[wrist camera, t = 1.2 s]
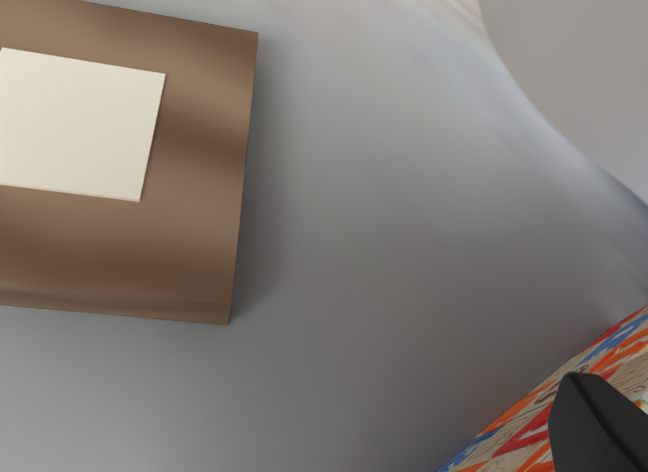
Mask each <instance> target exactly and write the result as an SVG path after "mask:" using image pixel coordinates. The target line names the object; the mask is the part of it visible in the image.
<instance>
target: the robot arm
mask: <svg viewBox="0 0 648 472" xmlns="http://www.w3.org/2000/svg"><path fill="white" fill-rule="evenodd" d="M548 435H549V441H550V446H551V452H552V458H553V464H554V469H555V472H648V414H647V413H645V412H644V411H643V410H642V409H640V408H639V407H638V406H637V405H635V404H634V403H633V402H632V401H630V400H629V399H628V398H627V397H626V396H624V395H623V394H622V393H621V392H619V391H618V390H617V389H616V388H614V387H613V386H612V385H611V384H609V383H608V382H607V381H606V380H604V379H603V378H602V377H600V376H599V375H597V374H594V373H585V372H576V371H569V372H567V373H565V374H564V376H563V377H562V379H561V381H560V384H559V387H558V390H557V393H556V395H555V398H554V401H553V404H552V407H551V409H550V412H549V416H548Z"/></svg>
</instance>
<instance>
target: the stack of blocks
mask: <svg viewBox="0 0 648 472" xmlns="http://www.w3.org/2000/svg"><path fill="white" fill-rule="evenodd" d="M569 371H576V372H585V373H594V374H597V375H599V376H600V377H602V378H603V379H604V380H606V381H607V382H608V383H609V384H611V385H612V386H613V387H614V388H616V389H617V390H618V391H619V392H621V393H622V394H623V395H624V396H626V397H627V398H628V399H629V400H630V401H632V402H633V403H634V404H635V405H637V406H638V407H639V408H640V409H642V410H643V411H644V412H645V413H647V414H648V305H647V306H645V307H644V308H642V309H640V310H638V311H636V312H635V313H633V314H631V315H630V316H628V317H627V318H625V319H623V320H622V321H620V322H619V323H617V324H616V325H614V326H612V327H611V328H610V329H609V330H607V331H606V332H605V333H604V334H603V335H602V336H601V337H599V338H598V339H597V340H596V341H595V342H594V343H592V344H591V345H590V346H589V347H588V348H587V349H585V350H584V351H583V352H582V353H580V354H578V355H577V356H575V357H573V358H572V359H570V360H569V361H568V362H566V363H565V364H564V365H563V366H561V367H560V368H559V369H558V370H556V371H555V372H554V373H553V374H552V375H550V376H549V377H548V378H547V379H546V380H544V381H543V382H542V383H541V384H539V385H538V386H537V387H536V388H535V389H533V390H532V391H531V392H530V393H529V394H528V395H527V396H526V397H524V398H522V399H521V400H520V401H518V402H517V403H516V404H515V405H513V406H512V407H511V408H510V409H509V410H507V411H506V412H505V413H504V414H502V415H501V416H500V417H499V418H498V419H496V420H495V421H494V422H493V423H491V424H490V425H489V426H488V427H487V428H485V429H484V430H483V431H482V432H480V433H479V434H478V435H477V436H476V437H475V440H474V441H473V442H472V443H471V444H469V445H468V446H467V447H466V448H464V449H463V450H462V451H461V452H459V453H458V454H457V455H456V456H455V457H453V458H452V459H451V460H450V461H449V462H447V463H446V464H445V465H444V466H442V467H441V468H440V469H439V470H437V471H436V472H555V469H554V464H553V458H552V452H551V446H550V441H549V435H548V416H549V412H550V409H551V407H552V404H553V401H554V398H555V395H556V393H557V390H558V387H559V384H560V381H561V379H562V377H563V376H564V374H565V373H567V372H569Z"/></svg>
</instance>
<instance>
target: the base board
mask: <svg viewBox="0 0 648 472" xmlns="http://www.w3.org/2000/svg"><path fill="white" fill-rule="evenodd" d="M257 42H258V33H257V32H252V31H246V30H241V29H235V28H230V27H224V26H219V25H213V24H208V23H202V22H196V21H191V20H185V19H180V18H174V17H169V16H163V15H158V14H152V13H146V12H141V11H135V10H130V9H124V8H119V7H113V6H108V5H102V4H96V3H91V2H85V1H80V0H0V305H9V306H20V307H31V308H42V309H54V310H65V311H76V312H87V313H98V314H109V315H120V316H131V317H142V318H153V319H164V320H176V321H187V322H198V323H209V324H220V325H227V324H228V319H229V315H230V310H231V305H232V295H233V285H234V275H235V265H236V255H237V244H238V234H239V224H240V214H241V204H242V194H243V184H244V173H245V163H246V153H247V143H248V133H249V123H250V113H251V102H252V92H253V82H254V72H255V62H256V52H257Z"/></svg>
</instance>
